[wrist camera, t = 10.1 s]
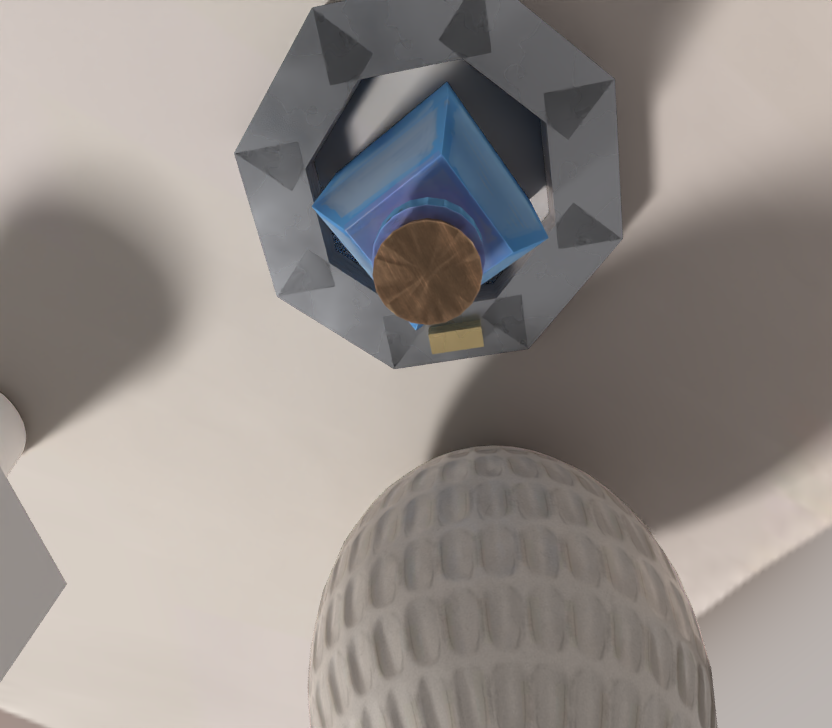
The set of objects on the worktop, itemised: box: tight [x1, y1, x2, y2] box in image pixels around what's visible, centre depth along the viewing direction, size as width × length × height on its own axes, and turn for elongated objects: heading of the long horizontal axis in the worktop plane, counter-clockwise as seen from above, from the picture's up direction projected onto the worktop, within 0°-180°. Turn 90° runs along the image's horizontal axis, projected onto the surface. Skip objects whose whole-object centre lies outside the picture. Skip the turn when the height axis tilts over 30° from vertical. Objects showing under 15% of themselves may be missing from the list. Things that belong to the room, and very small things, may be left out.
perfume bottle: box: [312, 82, 549, 330], centre depth 24 cm, size 6×6×12 cm
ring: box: [234, 0, 623, 369], centre depth 28 cm, size 16×16×3 cm
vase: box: [308, 445, 717, 728], centre depth 28 cm, size 16×16×22 cm
